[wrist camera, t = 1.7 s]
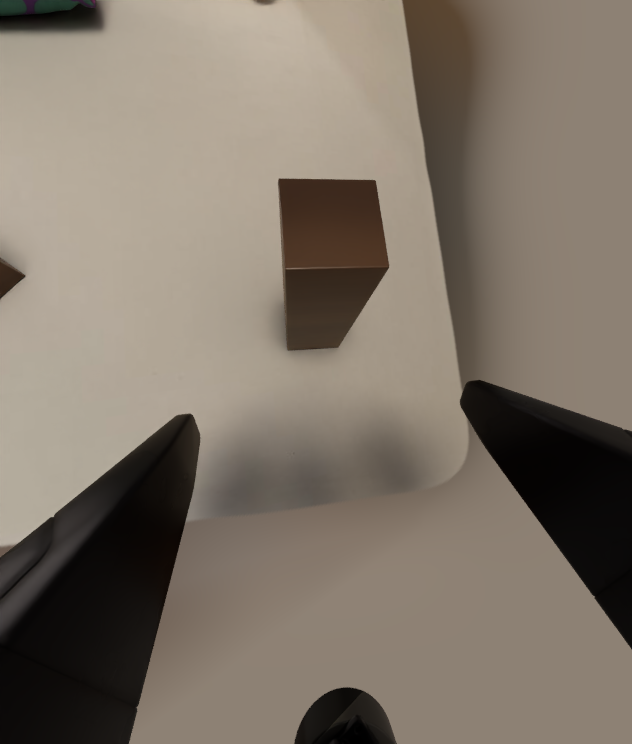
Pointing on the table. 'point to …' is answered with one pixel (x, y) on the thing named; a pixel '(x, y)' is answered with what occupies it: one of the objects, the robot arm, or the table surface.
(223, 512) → the table surface
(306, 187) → the walnut block loose
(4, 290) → the walnut block
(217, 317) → the table surface
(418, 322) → the table surface
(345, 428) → the table surface
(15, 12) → the pencil case
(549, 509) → the robot arm
